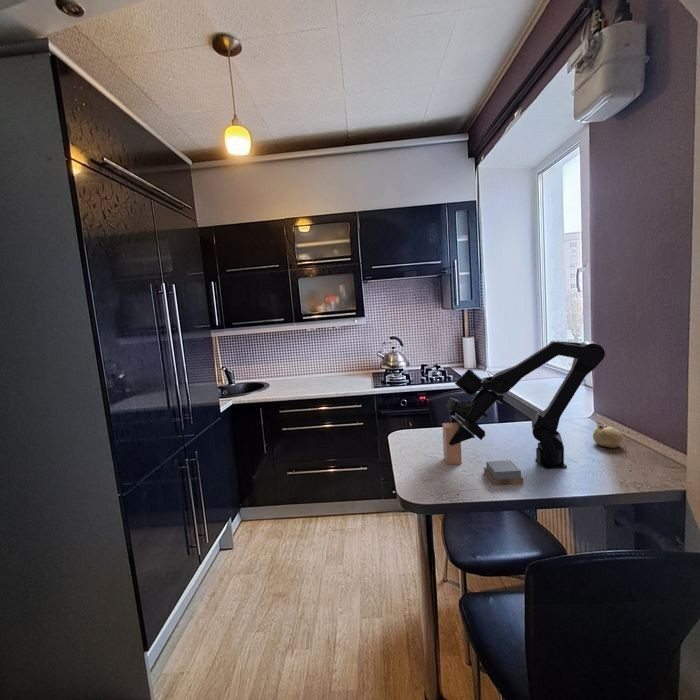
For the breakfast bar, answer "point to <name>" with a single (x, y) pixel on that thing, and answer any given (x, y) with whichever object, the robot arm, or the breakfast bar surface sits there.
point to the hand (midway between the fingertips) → (447, 441)
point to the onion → (607, 436)
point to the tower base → (502, 481)
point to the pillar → (450, 452)
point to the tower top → (503, 469)
